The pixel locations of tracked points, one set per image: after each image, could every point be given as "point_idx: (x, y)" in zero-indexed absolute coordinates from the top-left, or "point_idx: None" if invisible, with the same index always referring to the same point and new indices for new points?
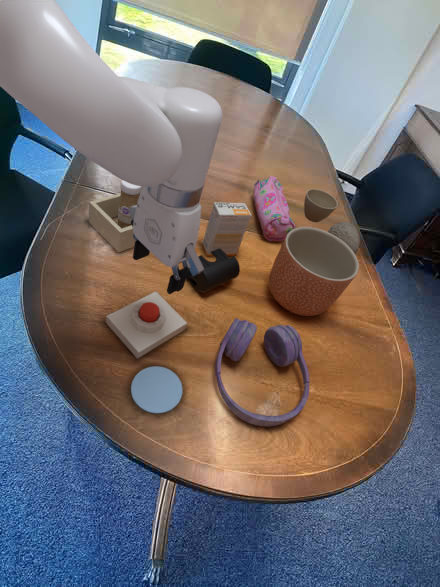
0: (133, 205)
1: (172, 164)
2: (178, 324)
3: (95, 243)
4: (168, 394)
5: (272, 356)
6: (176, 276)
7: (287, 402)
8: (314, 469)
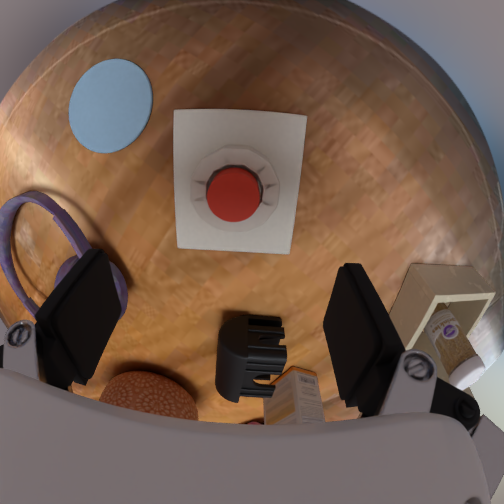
0: (445, 350)
1: None
2: (184, 231)
3: (447, 245)
4: (88, 117)
5: None
6: (24, 336)
7: (28, 263)
8: None
